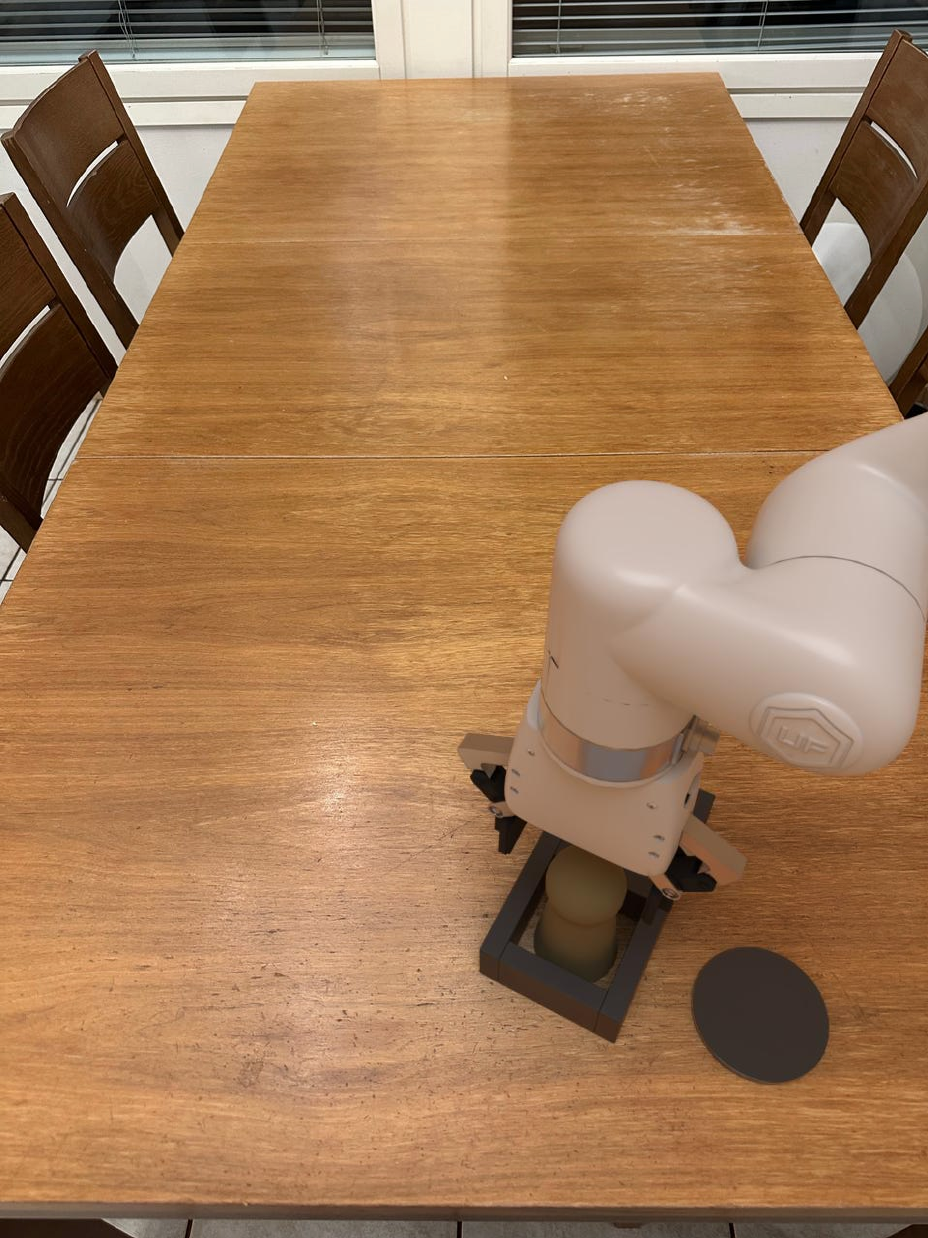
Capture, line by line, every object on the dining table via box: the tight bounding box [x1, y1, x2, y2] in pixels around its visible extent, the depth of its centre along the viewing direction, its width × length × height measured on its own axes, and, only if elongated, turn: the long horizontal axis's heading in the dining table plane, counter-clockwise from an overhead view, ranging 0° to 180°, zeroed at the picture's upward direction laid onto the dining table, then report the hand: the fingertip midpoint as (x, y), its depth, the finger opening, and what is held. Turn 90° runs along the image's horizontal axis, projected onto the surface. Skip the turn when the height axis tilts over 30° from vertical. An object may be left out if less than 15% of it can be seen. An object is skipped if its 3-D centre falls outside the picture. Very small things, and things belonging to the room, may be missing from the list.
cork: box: [533, 845, 627, 984], centre depth 64 cm, size 6×6×11 cm
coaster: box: [691, 946, 830, 1086], centre depth 64 cm, size 9×9×1 cm
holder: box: [478, 787, 716, 1044], centre depth 69 cm, size 10×19×4 cm, turn 152°
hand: (582, 869), depth 60 cm, fingers open, 9 cm apart
